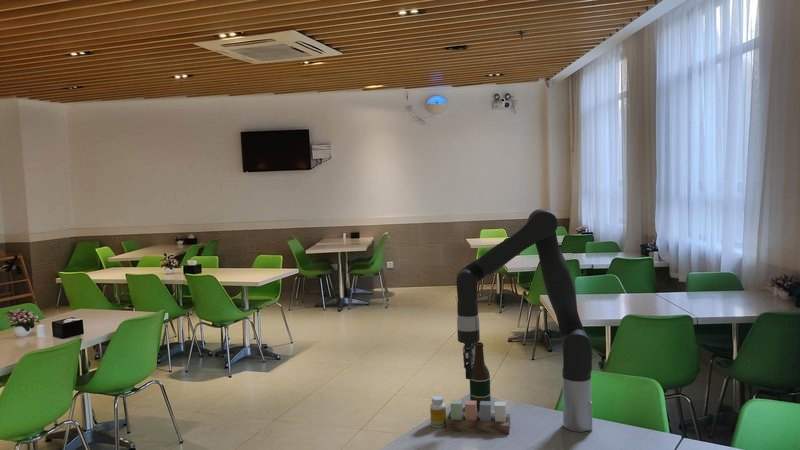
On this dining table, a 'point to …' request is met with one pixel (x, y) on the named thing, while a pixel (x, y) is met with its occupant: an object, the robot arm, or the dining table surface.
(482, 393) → the beer bottle
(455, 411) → the key sage
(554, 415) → the dining table surface
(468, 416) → the salmon pink block
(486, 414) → the key slate
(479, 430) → the brown wooden slotted tray
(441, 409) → the supplement bottle
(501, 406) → the key ivory
